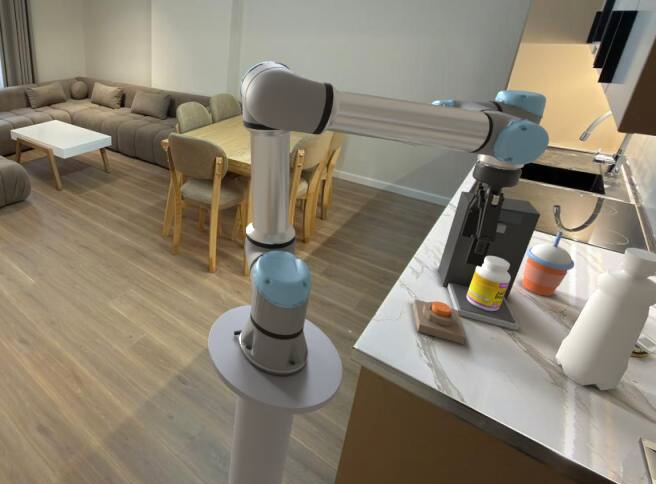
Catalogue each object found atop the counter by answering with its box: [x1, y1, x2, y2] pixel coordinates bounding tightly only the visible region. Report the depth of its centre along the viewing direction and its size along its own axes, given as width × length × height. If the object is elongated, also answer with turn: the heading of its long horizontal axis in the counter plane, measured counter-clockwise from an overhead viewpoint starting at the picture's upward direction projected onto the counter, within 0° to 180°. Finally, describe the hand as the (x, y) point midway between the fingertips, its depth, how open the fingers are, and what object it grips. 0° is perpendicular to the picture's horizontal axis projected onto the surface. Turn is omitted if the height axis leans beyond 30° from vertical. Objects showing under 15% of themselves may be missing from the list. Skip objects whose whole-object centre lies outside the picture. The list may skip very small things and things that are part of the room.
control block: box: [412, 298, 467, 345], centre depth 96 cm, size 9×10×4 cm
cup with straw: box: [521, 230, 575, 297], centre depth 105 cm, size 9×9×18 cm
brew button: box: [431, 301, 452, 317], centre depth 95 cm, size 4×4×2 cm
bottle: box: [555, 247, 656, 391], centre depth 77 cm, size 9×9×30 cm
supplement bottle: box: [467, 256, 511, 311], centre depth 99 cm, size 7×7×13 cm
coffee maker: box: [437, 191, 541, 331], centre depth 101 cm, size 14×20×26 cm
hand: (470, 249), depth 91 cm, fingers open, 13 cm apart
